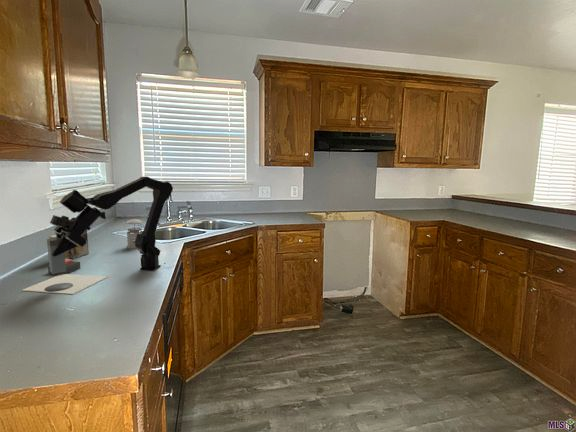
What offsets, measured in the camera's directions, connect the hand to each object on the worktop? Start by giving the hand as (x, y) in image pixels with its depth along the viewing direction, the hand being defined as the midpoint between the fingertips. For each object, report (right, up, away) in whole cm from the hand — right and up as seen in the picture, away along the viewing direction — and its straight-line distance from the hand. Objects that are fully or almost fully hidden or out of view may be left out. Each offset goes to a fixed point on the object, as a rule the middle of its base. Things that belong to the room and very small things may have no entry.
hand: (51, 254), depth 116 cm
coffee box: (-21, -6, +45) cm, 50 cm away
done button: (-10, -8, +22) cm, 26 cm away
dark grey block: (+1, -6, +2) cm, 7 cm away
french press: (-1, -3, +67) cm, 67 cm away
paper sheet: (+1, -12, +7) cm, 14 cm away
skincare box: (-22, -7, +36) cm, 42 cm away
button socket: (-11, -9, +22) cm, 26 cm away
